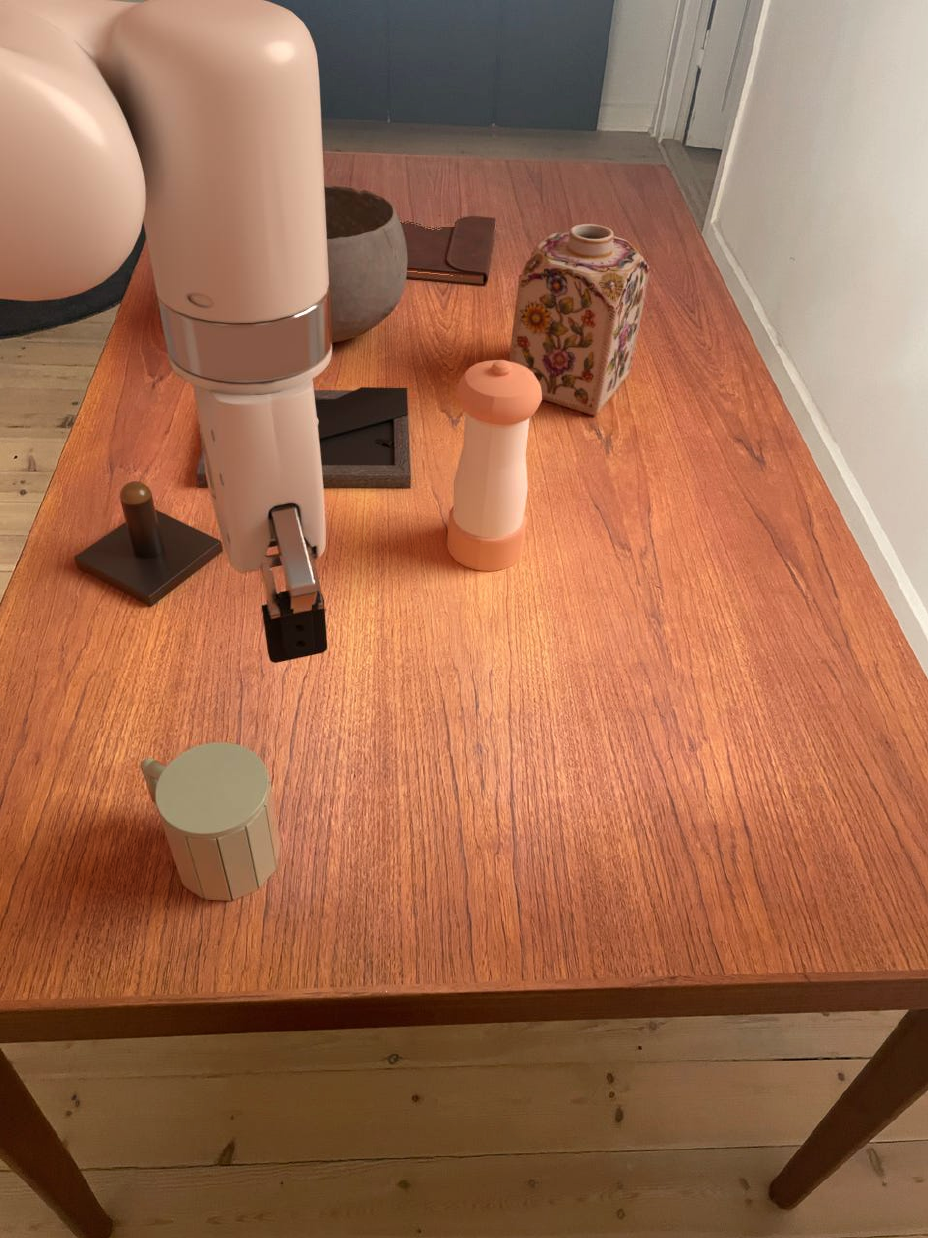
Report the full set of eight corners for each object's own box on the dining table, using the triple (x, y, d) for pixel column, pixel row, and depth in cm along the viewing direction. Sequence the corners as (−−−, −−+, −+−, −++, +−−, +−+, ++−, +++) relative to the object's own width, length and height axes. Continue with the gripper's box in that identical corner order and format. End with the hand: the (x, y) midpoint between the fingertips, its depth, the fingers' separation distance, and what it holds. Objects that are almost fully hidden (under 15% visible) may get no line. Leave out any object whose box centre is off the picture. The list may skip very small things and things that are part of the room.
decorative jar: (596, 419, 103) (625, 263, 90) (504, 390, 106) (518, 236, 94) (631, 374, 111) (662, 224, 98) (544, 348, 114) (563, 200, 101)
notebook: (379, 276, 126) (379, 261, 125) (399, 221, 140) (399, 208, 139) (487, 285, 126) (488, 271, 124) (496, 230, 140) (497, 216, 138)
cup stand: (151, 606, 78) (132, 531, 72) (76, 567, 81) (52, 491, 75) (223, 551, 83) (210, 476, 78) (151, 515, 86) (133, 441, 81)
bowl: (431, 313, 119) (435, 194, 109) (363, 386, 105) (360, 258, 95) (292, 280, 124) (283, 163, 113) (209, 346, 110) (190, 219, 99)
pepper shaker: (486, 512, 90) (503, 331, 76) (539, 549, 86) (566, 366, 73) (431, 542, 86) (438, 357, 73) (483, 582, 82) (501, 396, 69)
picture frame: (406, 403, 103) (218, 401, 101) (406, 387, 102) (215, 385, 100) (410, 487, 92) (198, 487, 90) (410, 471, 90) (195, 470, 89)
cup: (233, 919, 58) (216, 853, 53) (122, 845, 61) (95, 776, 56) (300, 841, 62) (291, 772, 57) (192, 776, 66) (174, 705, 60)
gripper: (142, 254, 46) (192, 519, 58) (192, 439, 35) (242, 721, 47) (288, 241, 48) (308, 500, 60) (380, 412, 37) (382, 688, 49)
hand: (279, 596), depth 54 cm, fingers open, 9 cm apart
